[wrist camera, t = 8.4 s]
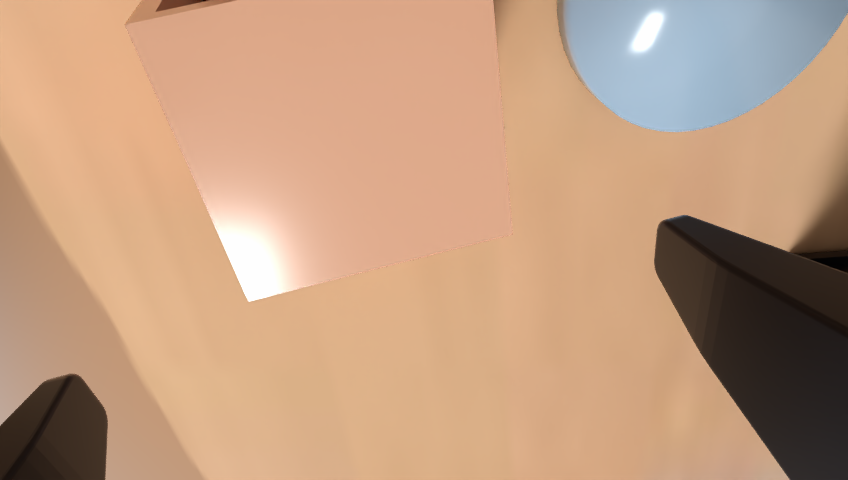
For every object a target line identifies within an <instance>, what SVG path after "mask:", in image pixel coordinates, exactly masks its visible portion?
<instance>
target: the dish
mask: <svg viewBox="0 0 848 480" xmlns="http://www.w3.org/2000/svg"><path fill="white" fill-rule="evenodd" d="M847 13H848V0H557V16H558V25H559V32H560V36H561V40H562V44H563V48H564V51H565V53H566V56H567V58H568V60H569V63H570V65H571V67H572V69H573V70H574V72H575V74H576V75H577V77H578V78H579V80H580V81H581V82H582V84H583V85H584V86H585V87H586V88H587V89H588V90H589V92H590V93H592V94H593V95H594V96H595V97H596V98H597V99H598V100H600V101H601V102H602V103H603V104H604V105H605V106H607V107H608V108H609V109H610V110H612V111H613V112H614V113H615V114H616V115H618V116H619V117H621V118H623V119H625V120H627V121H628V122H630V123H632V124H635V125H638V126H641V127H643V128H647V129H652V130H657V131H667V132H682V131H693V130H698V129H703V128H708V127H712V126H715V125H718V124H721V123H724V122H727V121H729V120H731V119H734V118H736V117H738V116H740V115H742V114H744V113H746V112H748V111H750V110H752V109H753V108H755V107H757V106H759V105H760V104H762V103H764V102H765V101H766V100H768V99H769V98H771V97H772V96H773V95H775V94H776V93H778V92H779V91H780V90H782V89H783V88H784V87H785V86H786V85H787V84H789V83H790V82H791V81H792V80H793V79H795V78H796V77H797V76H798V75H799V74H800V73H801V72H802V71H803V70H804V69H805V68H806V67H807V66H808V65H809V64H810V63H811V62H812V61H813V59H814V58H815V57H816V56H817V55H818V54H819V52H820V51H821V50H822V49H823V48H824V47H825V45H826V44H827V43H828V41H829V40H830V39H831V37H832V36H833V34H834V33H835V32H836V30H837V29H838V28H839V26H840V24H841V23H842V21H843V20H844V18H845V16H846V15H847Z"/></svg>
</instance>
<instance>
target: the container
mask: <svg viewBox="0 0 848 480" xmlns="http://www.w3.org/2000/svg"><path fill="white" fill-rule="evenodd" d="M125 27H126V29H127V31H128V34H129V36H130V38H131V40H132V42H133V45H134V47H135V49H136V51H137V54H138V56H139V58H140V60H141V63H142V65H143V67H144V69H145V72H146V74H147V76H148V78H149V80H150V83H151V85H152V87H153V89H154V92H155V94H156V96H157V98H158V101H159V103H160V105H161V107H162V110H163V112H164V114H165V116H166V118H167V121H168V123H169V125H170V127H171V130H172V132H173V134H174V136H175V139H176V141H177V143H178V145H179V147H180V150H181V152H182V154H183V156H184V159H185V161H186V163H187V165H188V168H189V170H190V172H191V174H192V177H193V179H194V181H195V183H196V185H197V188H198V190H199V192H200V194H201V197H202V199H203V201H204V203H205V206H206V208H207V210H208V212H209V215H210V217H211V219H212V221H213V223H214V226H215V228H216V230H217V232H218V235H219V237H220V239H221V241H222V244H223V246H224V248H225V250H226V252H227V255H228V257H229V259H230V261H231V264H232V266H233V268H234V270H235V273H236V275H237V277H238V279H239V282H240V284H241V286H242V288H243V290H244V293H245V295H246V297H247V299H248V302H249V301H253V300H257V299H261V298H265V297H269V296H272V295H276V294H280V293H284V292H288V291H292V290H296V289H300V288H304V287H308V286H312V285H316V284H320V283H324V282H328V281H332V280H336V279H339V278H343V277H347V276H351V275H355V274H359V273H363V272H367V271H371V270H375V269H379V268H383V267H387V266H391V265H395V264H399V263H402V262H406V261H410V260H414V259H418V258H422V257H426V256H430V255H434V254H438V253H442V252H446V251H450V250H454V249H458V248H462V247H465V246H469V245H473V244H477V243H481V242H485V241H489V240H493V239H497V238H501V237H505V236H509V235H513V230H512V218H511V206H510V194H509V182H508V170H507V158H506V147H505V135H504V123H503V111H502V99H501V87H500V75H499V63H498V51H497V39H496V27H495V15H494V4H493V0H209V1H205V2H202V0H142V1H141V2H140V4H139V5H138V6H137V8H136V9H135V11H134V12H133V13H132V15H131V16H130V18H129V19H128V21H127V22H126V23H125Z"/></svg>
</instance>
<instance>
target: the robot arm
mask: <svg viewBox="0 0 848 480" xmlns="http://www.w3.org/2000/svg"><path fill="white" fill-rule="evenodd" d="M654 264H655V270H656V273H657V275H658V277H659V279H660V281H661V283H662V285H663V287H664V288H665V290H666V292H667V294H668V296H669V297H670V299H671V301H672V303H673V305H674V306H675V308H676V310H677V312H678V314H679V316H680V317H681V319H682V321H683V323H684V325H685V326H686V328H687V330H688V332H689V334H690V336H691V337H692V339H693V341H694V343H695V344H696V346H697V348H698V349H699V351H700V353H701V354H702V356H703V357H704V359H705V360H706V362H707V363H708V365H709V366H710V368H711V369H712V371H713V372H714V373H715V375H716V376H717V378H718V379H719V380H720V382H721V383H722V385H723V386H724V387H725V389H726V390H727V392H728V393H729V395H730V396H731V397H732V399H733V400H734V402H735V403H736V404H737V406H738V407H739V409H740V410H741V411H742V413H743V414H744V416H745V417H746V418H747V420H748V421H749V423H750V424H751V426H752V427H753V428H754V430H755V431H756V433H757V434H758V435H759V437H760V438H761V440H762V441H763V442H764V444H765V445H766V447H767V448H768V449H769V451H770V452H771V454H772V455H773V457H774V458H775V459H776V461H777V462H778V464H779V465H780V466H781V468H782V469H783V471H784V472H785V473H786V475H787V476H788V478H789V479H790V480H848V250H847V251H834V252H820V253H807V254H798V255H796V254H793V253H790V252H787V251H785V250H782V249H779V248H776V247H774V246H771V245H768V244H765V243H763V242H760V241H757V240H754V239H752V238H749V237H746V236H743V235H741V234H738V233H735V232H732V231H730V230H727V229H724V228H721V227H719V226H716V225H713V224H710V223H708V222H705V221H702V220H699V219H697V218H694V217H691V216H688V215H682V216H678V217H674V218H670V219H666V220H663V221H662V222H660V224H659V225H658V229H657V237H656V248H655V258H654ZM107 422H108V420H107V415H106V411H105V409H104V407H103V405H102V404H101V403H100V401H99V400H98V399H97V397H96V396H95V395H94V393H93V392H92V391H91V390H90V388H89V387H88V386H87V384H86V383H85V381H84V380H83V379H82V378H81V377H80V376H79V375H77V374H67V375H63V376H60V377H56V378H52V379H49V380H47V381H45V382H43V383H42V384H41V385H40V386H39V387H38V388H37V389H36V390H35V391H34V392H33V393H32V394H31V395H30V396H29V397H28V398H27V399H26V400H25V401H24V402H23V403H22V404H21V405H20V406H19V407H18V408H17V409H16V410H15V411H14V413H12V414H11V415H10V416H9V417H8V418H7V419H6V421H5V422H4V423H3V424H2V425H1V426H0V480H105V474H106V473H105V472H106V450H107V428H108V423H107Z"/></svg>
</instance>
